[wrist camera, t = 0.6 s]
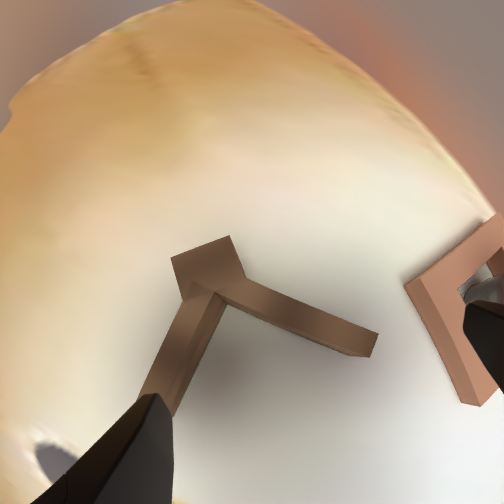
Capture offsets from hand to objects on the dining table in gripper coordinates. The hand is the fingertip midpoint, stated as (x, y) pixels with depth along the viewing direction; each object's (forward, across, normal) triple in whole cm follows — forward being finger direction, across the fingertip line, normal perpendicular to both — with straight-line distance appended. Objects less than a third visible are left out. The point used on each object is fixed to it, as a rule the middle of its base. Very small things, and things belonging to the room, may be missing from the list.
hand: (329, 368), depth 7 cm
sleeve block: (+11, -17, +10) cm, 23 cm away
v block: (+13, +4, +6) cm, 15 cm away
